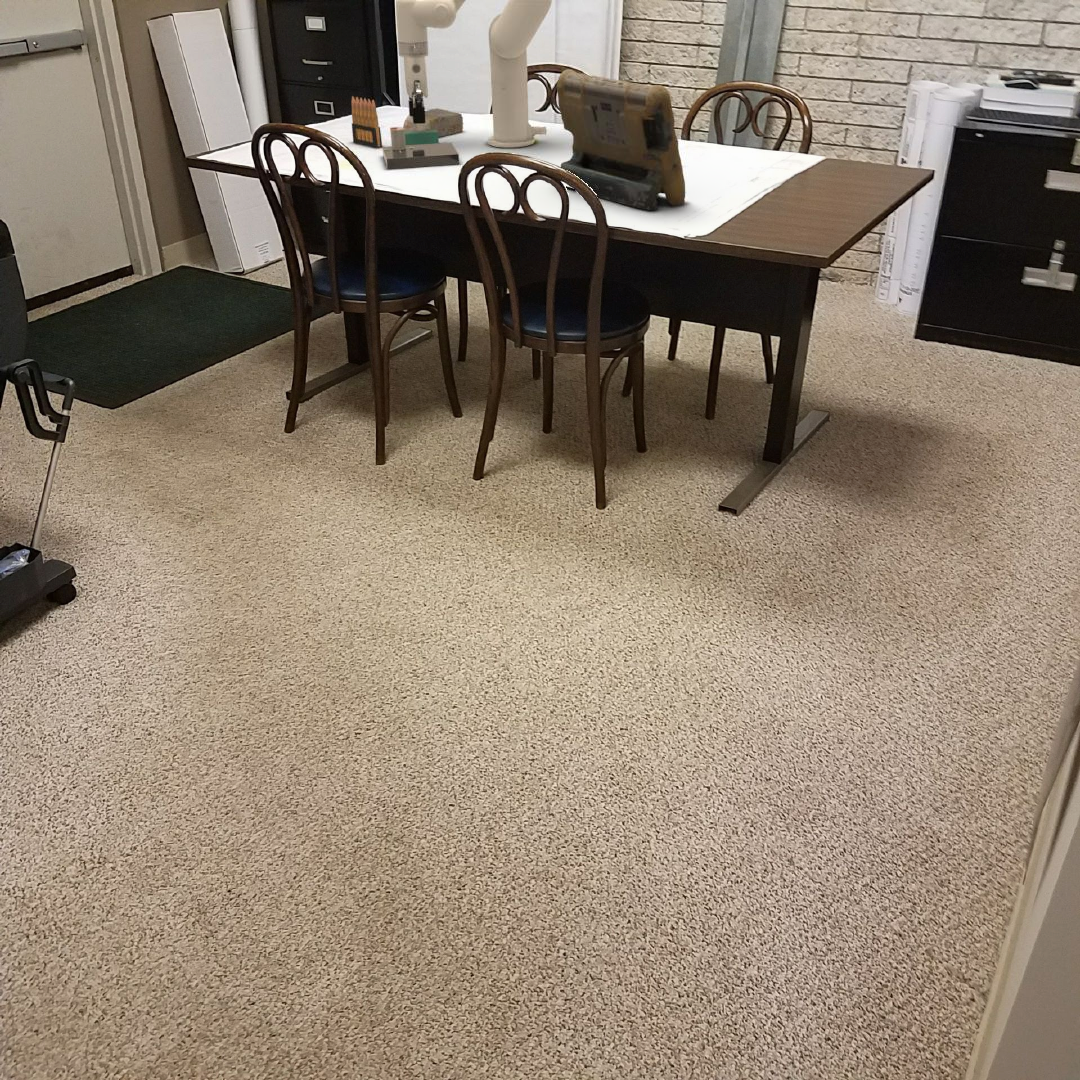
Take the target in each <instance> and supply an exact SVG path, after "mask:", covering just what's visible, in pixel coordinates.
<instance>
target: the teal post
mask: <svg viewBox="0 0 1080 1080" xmlns="http://www.w3.org/2000/svg"><path fill="white" fill-rule="evenodd" d="M405 141H406V145H421V144H436V143H440V141H439V137H438V131H437V130H427V131H412V132H405Z"/></svg>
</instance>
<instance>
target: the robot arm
mask: <svg viewBox="0 0 1080 1080" xmlns="http://www.w3.org/2000/svg"><path fill="white" fill-rule="evenodd" d="M465 2H466V0H395V13H396V28H397V29H396V30H397V45H398V47H397V48H398V56H399V57H401V58H403V66H404V67H403V69H404V81H405V88H406V89H405V90H406V94H407V95H408V113H409V114H408V115H410V116H411V117H413V123H414V124H423V123H425V111H426V106H425V101H424V98H425V99H427V98H428V97H429V90H428V78H427V64H426V58H425V57H428V56H429V42H428V41H429V40H428V28H433V29H441V30H442V29H443V30H445V29H447V28H450V27H451V26H452V25H453V24H454V23H455V21H456V18H457V13H458V11H459V10H460V9H461V7H462V6H463V5H464V3H465ZM552 2H553V0H508V1H507V3H506V5H505V6H504V9H503V10H502V12H501V13H499V14H498V15H496V16H495V17H494V18H493V19H492V21H491V23H490V24H489V28H488V46H489V47H488V48H489V61H490V62H489V63H490V80H491V81H490V84H491V85H490V87H491V107H492V130H493V131H492V132H493V133H492V134H493V135H492V136H490V137H488V138H487V144H488V145H489V146H492V147H497V148H506V149H507V148H508V149H509V148H522V147H529V146H531V145H533V144H534V143H536V139H535V136H537V135H539V136H543V135H547V127H546V126H532V125H531V124H530V123H529V90H528V89H529V88H528V87H529V86H528V85H529V84H528V55H527V48H528V46H529V45H530V43H531V42H532V40H533V38H534V37H535V35H536V33H537V32H538V30H539V29H540V26H541V25H542V23H543V22H544V20H545V18H546V16H547V14H548V13H549V10H550V9H551V6H552Z"/></svg>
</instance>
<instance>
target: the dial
mask: <svg viewBox="0 0 1080 1080" xmlns="http://www.w3.org/2000/svg"><path fill="white" fill-rule="evenodd" d="M389 130H390V141H391V146H392V150H396V151H400V150H405V149H406V141H405V129H404V128H403V126H393V127H390V128H389Z"/></svg>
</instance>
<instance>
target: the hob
mask: <svg viewBox="0 0 1080 1080" xmlns="http://www.w3.org/2000/svg"><path fill="white" fill-rule="evenodd" d="M381 148H382V157H383V160H384V164H385V166H386V168H387V170H395V169H396V170H397V169H399V170H400V169H410V168H425V167H439V166H440V167H441V166H455V165H460V155H459V153H458V151H457V149H456V147H454V145H453V143H452V142H451V141H449V142H439V143H436V144H421V145H406V149H405V150H400V151H396V150H392V145H391V146H382V147H381Z"/></svg>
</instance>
